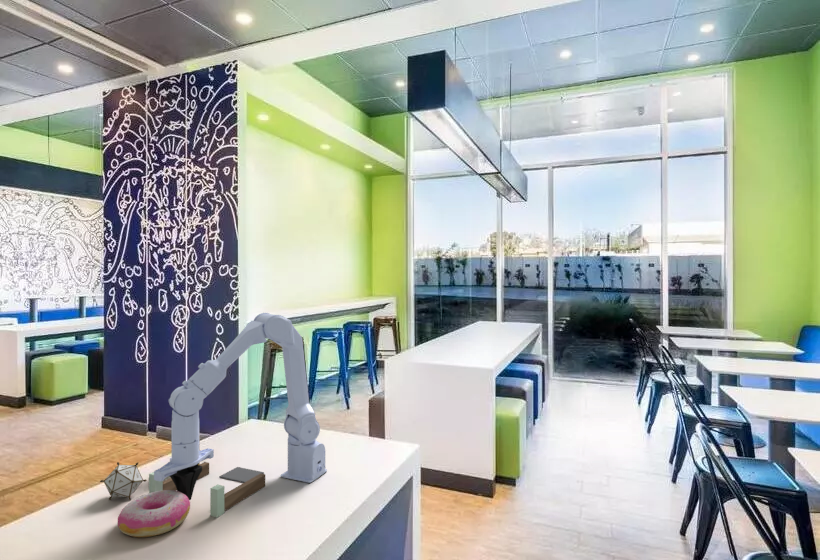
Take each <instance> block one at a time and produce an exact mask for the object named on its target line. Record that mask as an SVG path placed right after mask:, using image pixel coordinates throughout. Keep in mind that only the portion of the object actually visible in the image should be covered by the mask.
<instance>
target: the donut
mask: <svg viewBox="0 0 820 560" xmlns="http://www.w3.org/2000/svg"><path fill="white" fill-rule="evenodd" d="M190 509H191V500H189V499H188V497H187V496H186V495H185V494H183V493H181V492H179V491H177V490H176V491H175V490H163V491H156V492H152V493H149V492H148V493H146V494H144V495H141V496H138V497H136V498H134V499H133V500H131V501H129V503H127V504H126V505H125V506H124V507H123V508H122V509H121V511H120V513H119V514H118V517H117V527H118V528H119V530H120V531H121V533H123V534H125V535H127V536H130V537H133V538H149V537H156V536H159V535H163V534H165V533H167V532H170V531H172V530H174V529H175V528H177V527H178V526H180V525H181V524H182V523H183V522H184V521H185V520H186V518H187V517H188V515H189V512H190Z"/></svg>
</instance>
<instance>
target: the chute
mask: <svg viewBox="0 0 820 560" xmlns="http://www.w3.org/2000/svg"><path fill="white" fill-rule="evenodd" d="M199 465H200V466H202V472H201V473H200V475H199V477H198V479H197V481H199V480H200V479H203V478H205V477H206V476H208V475H210V462H207V461H204V462H202V463H200V464H199ZM265 487H266V474H265V473H264V474H261V473H260V474H259V475H257V476H255V477H253V478H252V479H250V480H248V481H246V482H245V483H241V484H240V485H238V486H236V487H234V488H233V489H231V490H228V491H227V492H225V485H221V484H216V485H214V486H212V487H210V489H209V490H210V510H209V511H210V512H209V513H210V514H209V515H210V517H215V518H219V517H221V516H223V515H224V514H225V513H226V511H228V510H229V509H231V508H232V507H234V506H236V505H238V504H239V503H241V502H243V501H244V500H246V499H248V498H249V497H250V496H252V495H253V494H255V493H257V492H258V491H260V490H262V489H263V488H265ZM163 490H175V491H177V488H176V486H175V484H174V482H173V480H172V479H171V478H169V479H167V478H166V479H164V480H163V481H156V480H154V471H153V472H150V473H148V493H152V492H156V491H163Z"/></svg>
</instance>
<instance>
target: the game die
mask: <svg viewBox="0 0 820 560" xmlns="http://www.w3.org/2000/svg"><path fill="white" fill-rule="evenodd" d="M138 465H139V462H136V463H135V464H120V462H119V461H117V462H116V467H115V468H114V469H113V470H112V471H111V472H110V473H109V475H107V477H105V478H104V479H101V480H99V482H100V483H104V485H105V487H106V489H107V491H108V493H109V495H110V496H109V498H108V501H110V500H112V499H113V498H127V499H128V501H129V502H131V501H132V500H131V499H132V497H131V496H132V495H133V494H134V493H135V491H136V490H137V489H138V488H139V487H140V486H141V485H142V483H143V482H147V481H148V480H147V479H144V478H143V477H142V475H141V473H140V470H139V469H138Z"/></svg>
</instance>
